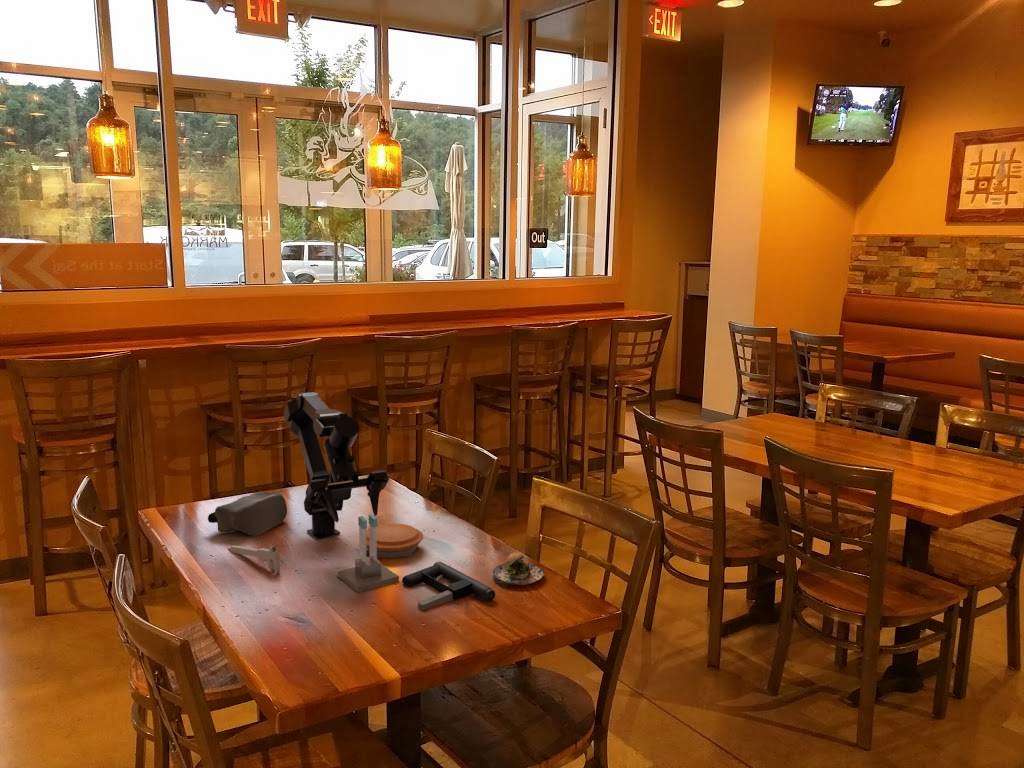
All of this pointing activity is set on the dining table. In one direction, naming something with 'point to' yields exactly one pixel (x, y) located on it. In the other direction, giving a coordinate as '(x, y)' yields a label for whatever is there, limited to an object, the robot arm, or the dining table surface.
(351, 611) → the dining table surface
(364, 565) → the block with twin posts
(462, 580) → the toy submachine gun
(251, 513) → the grey jug on side
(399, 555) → the pie
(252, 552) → the caliper
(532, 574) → the burger
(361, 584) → the plate
